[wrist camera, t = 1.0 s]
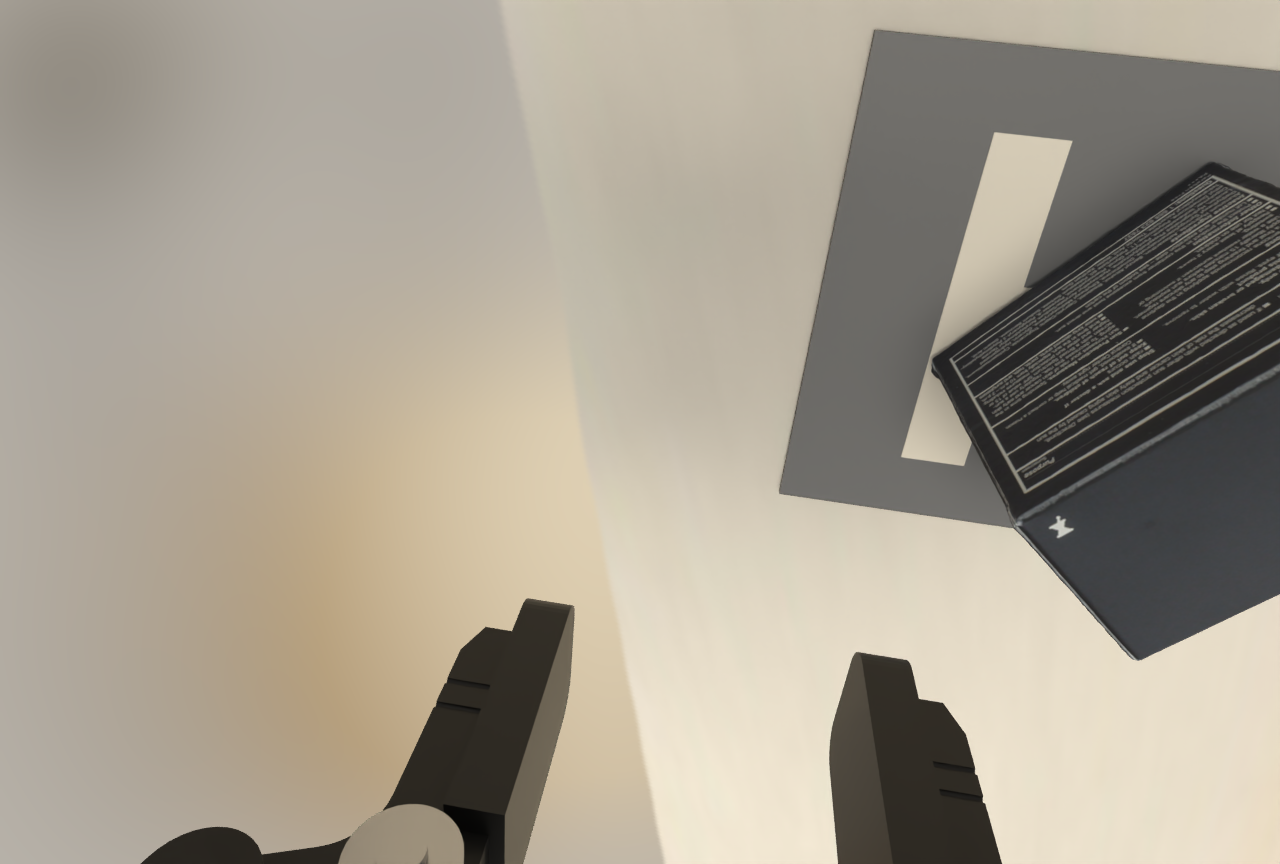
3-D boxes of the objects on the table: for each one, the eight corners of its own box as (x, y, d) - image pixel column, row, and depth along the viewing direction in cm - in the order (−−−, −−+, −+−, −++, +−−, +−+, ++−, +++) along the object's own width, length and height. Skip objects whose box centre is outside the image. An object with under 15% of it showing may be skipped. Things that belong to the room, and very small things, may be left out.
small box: (1024, 477, 31) (1135, 679, 21) (922, 359, 29) (997, 523, 20) (1315, 303, 26) (1612, 463, 17) (1216, 152, 25) (1485, 239, 15)
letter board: (874, 29, 24) (875, 30, 24) (1573, 101, 23) (1581, 102, 23) (779, 491, 33) (779, 494, 32) (1289, 566, 31) (1293, 570, 31)
